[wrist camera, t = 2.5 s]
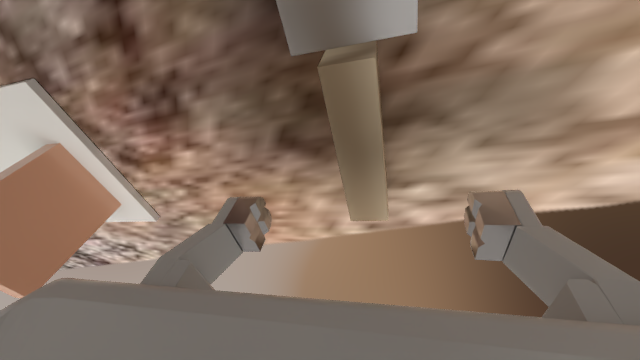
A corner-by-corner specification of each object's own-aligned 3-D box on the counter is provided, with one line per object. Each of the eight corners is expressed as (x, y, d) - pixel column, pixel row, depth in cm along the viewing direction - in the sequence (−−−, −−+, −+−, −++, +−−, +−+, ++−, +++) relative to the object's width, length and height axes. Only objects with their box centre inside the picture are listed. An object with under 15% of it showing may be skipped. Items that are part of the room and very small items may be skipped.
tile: (43, 144, 21) (-109, 238, 14) (59, 142, 21) (-91, 238, 14) (107, 205, 25) (12, 297, 19) (121, 204, 25) (29, 299, 18)
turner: (419, -236, 8) (435, -305, 6) (413, 186, 18) (418, 220, 16) (239, -155, 9) (195, -185, 7) (330, 190, 20) (324, 221, 18)
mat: (-103, 109, 22) (-113, 113, 22) (33, 78, 18) (25, 82, 17) (44, 218, 31) (39, 222, 30) (160, 216, 26) (156, 221, 26)
